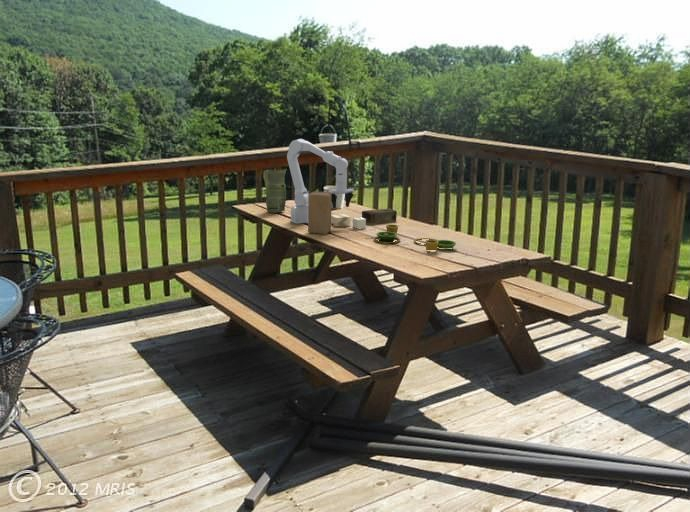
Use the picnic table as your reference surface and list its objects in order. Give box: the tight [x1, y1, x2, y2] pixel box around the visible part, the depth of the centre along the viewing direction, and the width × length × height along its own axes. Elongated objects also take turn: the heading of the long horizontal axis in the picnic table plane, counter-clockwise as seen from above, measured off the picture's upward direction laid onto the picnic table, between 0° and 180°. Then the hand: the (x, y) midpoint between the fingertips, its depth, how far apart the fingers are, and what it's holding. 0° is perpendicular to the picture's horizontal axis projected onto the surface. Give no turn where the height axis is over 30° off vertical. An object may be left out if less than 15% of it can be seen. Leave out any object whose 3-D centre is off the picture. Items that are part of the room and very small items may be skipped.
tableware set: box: [365, 224, 457, 251], centre depth 318 cm, size 41×28×6 cm
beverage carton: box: [361, 207, 398, 225], centre depth 366 cm, size 8×19×7 cm, turn 124°
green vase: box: [262, 168, 288, 214], centre depth 383 cm, size 11×12×25 cm
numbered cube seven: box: [352, 216, 367, 229], centre depth 349 cm, size 5×5×5 cm
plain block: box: [331, 213, 351, 227], centre depth 355 cm, size 8×8×5 cm
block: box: [307, 190, 332, 235], centre depth 335 cm, size 10×10×20 cm
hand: (340, 207), depth 353 cm, fingers open, 7 cm apart
